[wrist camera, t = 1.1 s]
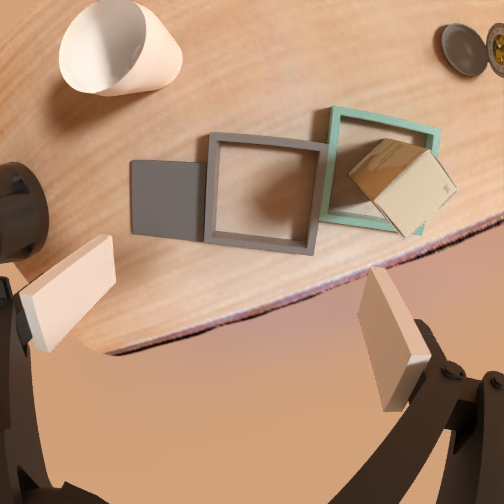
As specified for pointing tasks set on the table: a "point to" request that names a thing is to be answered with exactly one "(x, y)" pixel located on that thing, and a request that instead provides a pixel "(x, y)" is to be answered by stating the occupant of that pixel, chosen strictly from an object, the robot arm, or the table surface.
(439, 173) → the skincare box
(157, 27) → the cup
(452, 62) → the pocket watch
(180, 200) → the slate mat
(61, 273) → the robot arm
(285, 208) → the table surface
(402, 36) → the table surface
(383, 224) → the teal frame
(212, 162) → the grey frame
